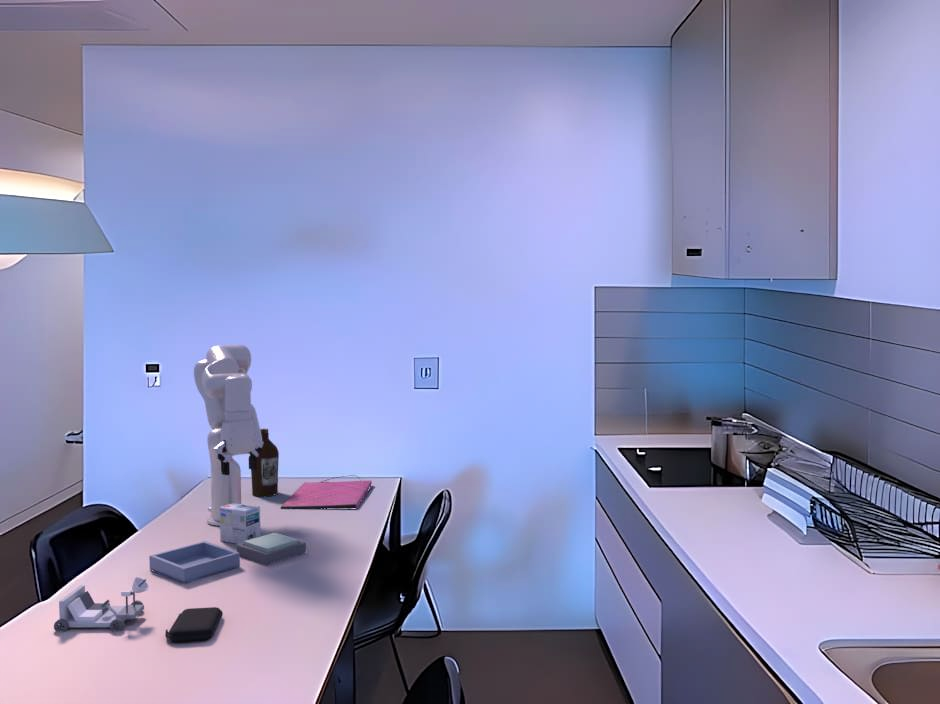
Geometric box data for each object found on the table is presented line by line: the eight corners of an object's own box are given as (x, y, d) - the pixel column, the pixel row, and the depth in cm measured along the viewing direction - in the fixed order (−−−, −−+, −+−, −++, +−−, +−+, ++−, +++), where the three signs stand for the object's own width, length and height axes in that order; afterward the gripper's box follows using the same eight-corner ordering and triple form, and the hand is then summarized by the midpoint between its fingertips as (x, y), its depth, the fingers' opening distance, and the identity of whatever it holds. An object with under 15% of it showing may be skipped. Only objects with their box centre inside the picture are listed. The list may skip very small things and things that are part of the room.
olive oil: (245, 493, 300) (244, 429, 298) (270, 489, 307) (269, 426, 305) (259, 498, 292) (258, 432, 290) (284, 494, 299) (283, 429, 298)
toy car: (154, 572, 185) (134, 589, 174) (155, 612, 186) (135, 632, 174) (77, 572, 185) (52, 590, 173) (78, 612, 185) (53, 633, 174)
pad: (243, 546, 227) (243, 541, 227) (275, 537, 235) (274, 532, 235) (267, 553, 220) (267, 548, 220) (298, 544, 228) (298, 539, 228)
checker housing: (236, 555, 227) (236, 544, 226) (276, 543, 238) (275, 533, 237) (266, 565, 218) (266, 554, 218) (305, 552, 229) (305, 542, 229)
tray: (149, 570, 214) (149, 555, 214) (205, 554, 227) (204, 541, 227) (184, 584, 203) (183, 568, 203) (239, 566, 216) (239, 552, 216)
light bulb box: (261, 539, 241) (260, 505, 241) (246, 546, 235) (246, 510, 235) (234, 535, 246) (233, 501, 245) (219, 541, 240) (218, 506, 239)
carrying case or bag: (176, 619, 181) (160, 647, 167) (176, 606, 181) (160, 633, 167) (224, 617, 183) (212, 644, 168) (224, 604, 183) (211, 630, 168)
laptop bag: (356, 500, 277) (280, 501, 278) (356, 511, 277) (280, 512, 278) (373, 474, 316) (307, 475, 317) (374, 484, 317) (307, 485, 318)
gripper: (254, 412, 247) (255, 466, 248) (206, 418, 234) (207, 475, 235) (269, 414, 242) (270, 469, 243) (220, 420, 229) (221, 478, 230)
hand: (239, 472), depth 239 cm, fingers open, 9 cm apart
